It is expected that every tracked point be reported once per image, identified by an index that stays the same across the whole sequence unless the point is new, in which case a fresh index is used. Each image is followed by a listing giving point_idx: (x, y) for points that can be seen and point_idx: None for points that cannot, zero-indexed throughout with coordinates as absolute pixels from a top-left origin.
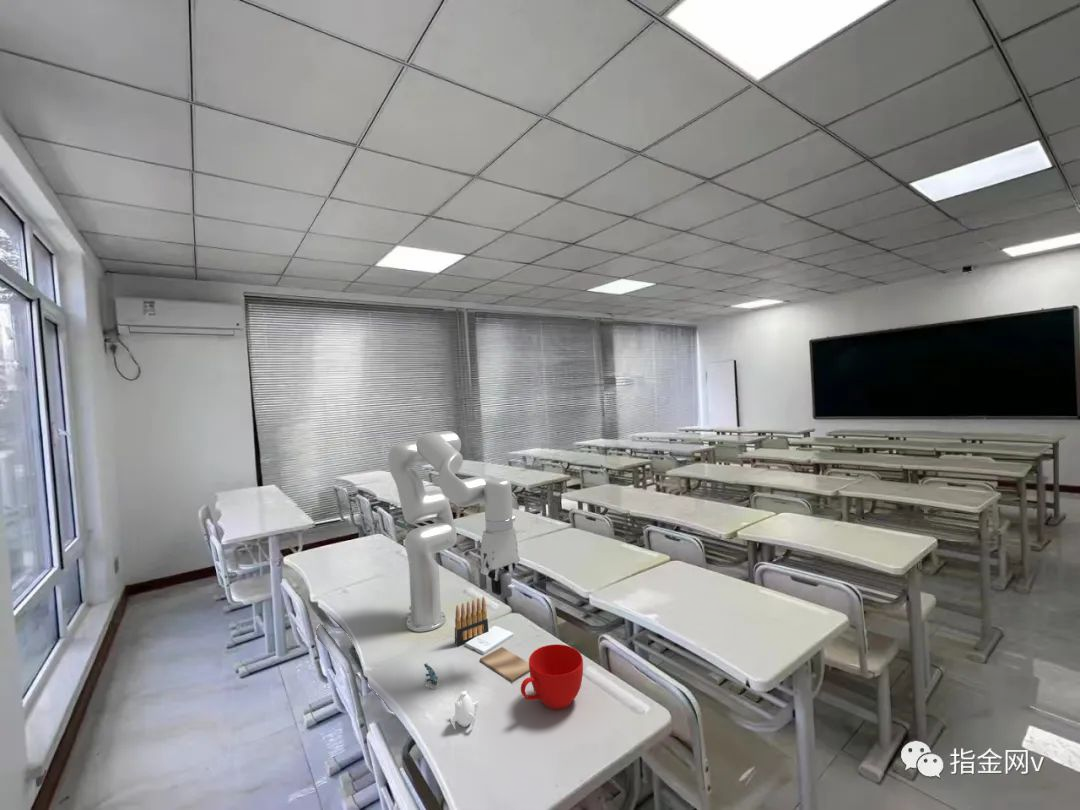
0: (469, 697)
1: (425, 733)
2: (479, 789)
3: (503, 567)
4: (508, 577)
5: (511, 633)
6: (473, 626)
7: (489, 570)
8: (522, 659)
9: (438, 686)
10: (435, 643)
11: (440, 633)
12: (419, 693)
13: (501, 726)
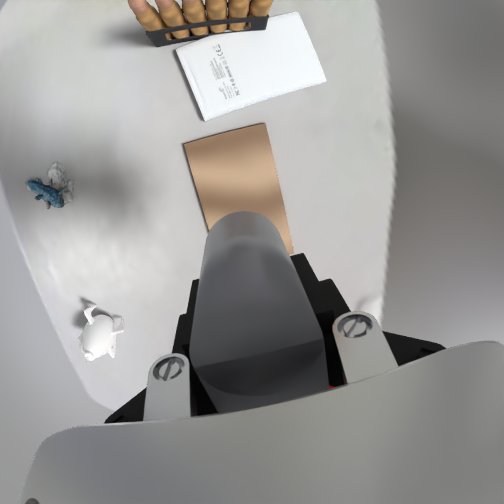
0: (101, 354)
1: (50, 305)
2: (115, 403)
3: (342, 369)
4: None
5: (321, 80)
6: (208, 25)
7: (145, 419)
8: (283, 211)
9: (71, 199)
10: (114, 9)
11: None
12: (39, 201)
13: (160, 352)
